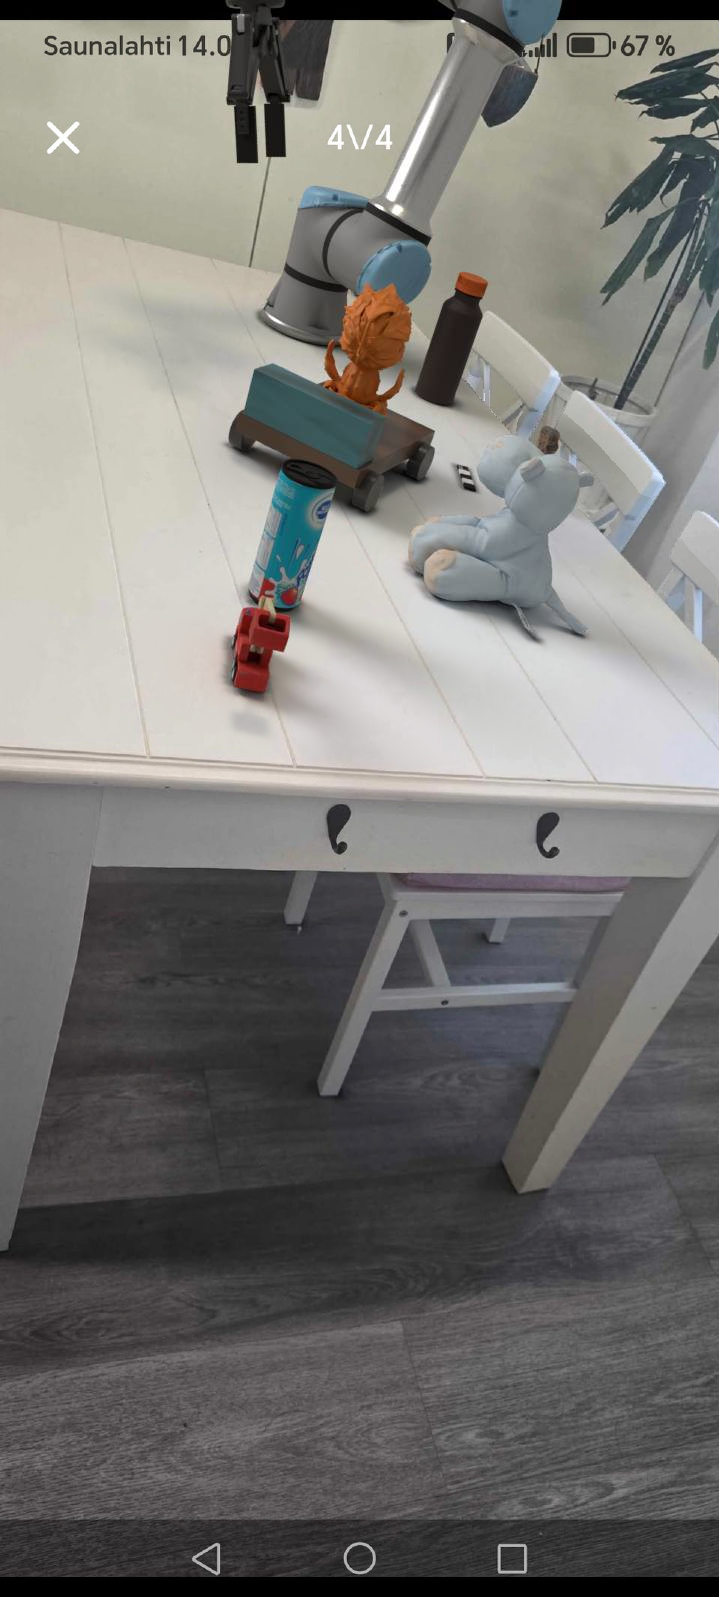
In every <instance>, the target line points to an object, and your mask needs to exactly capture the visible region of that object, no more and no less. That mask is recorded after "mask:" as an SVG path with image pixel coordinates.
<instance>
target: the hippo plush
mask: <svg viewBox="0 0 719 1597" xmlns="http://www.w3.org/2000/svg"><path fill="white" fill-rule="evenodd" d="M476 473H477V477H478V480H479V482H480V483H481V484H482V485H484V486H485V488H486V489H487V490H488V491H489V492H490V493H492V494H493V495H495V496H496V497H498V498H501V499H504V503H505V505H506V506H505V507H504V508H502V509H501V510H500V511H499V513H497V515H488V516H486V517H482V518H478V517H476V516H473V515H468V514H458V515H457V514H455V515H445V516H442V515H439V514H438V515H437V516H433V517H431V518H429V519H426V521H425V522H424V523H423V524H419V525H416V526H415V527H414V528H413V529H412V530H411V533H410V537H409V542H408V547H407V557H408V561H409V564H410V565H411V567H412V568H413V569H414V571H416V572H417V573H419V574H421V575H423V582H424V584H425V587H426V589H427V590H428V591H429V593H430V594H431V595H433V596H436V597H437V598H441V599H443V600H446V601H449V602H450V601H451V602H470V601H480V602H487V601H489V602H490V601H491V602H493V601H498V602H500V603H502V604H505V605H509V606H512V607H514V608H516V611H517V614H518V616H519V618H520V621H521V622H522V625H523V627H524V628H525V629H526V630H527V631H528V632H529V634H531V635H532V636H533V637H534V639H536V640H537V639H539V638H538V636H537V634H536V632H535V631H534V629H532V628H531V626H530V623H529V622H528V620H527V618H526V616H525V615H524V612H523V610H522V608H535V607H539V606H540V605H543V604H545V605H547V607H549V608H550V609H551V611H553V612H554V613H555V614H556V615H557V616H558V617H559V618H560V619H561V620H562V621H563V622H564V623H566V624H567V626H568V627H569V628H571V629H572V630H573V631H574V632H575V633H576V634H578V635H585V634H586V633H587V631H588V630H589V628H588V627H587V626H586V625H585V624H584V623H582V622H581V621H580V620H579V619H578V618H577V617H576V616H575V615H574V614H572V612H570V611H569V610H568V609H567V608H566V607H565V604H564V603H563V602H562V600H561V598H560V597H559V596H560V595H559V594H558V592H557V591H556V589H555V588H554V587H553V586H552V582H553V563H552V562H553V561H552V555H551V552H550V548H549V534H550V533H552V532H553V531H555V529H558V527H559V526H560V525H562V523H563V522H564V521H565V520H566V519H567V518H568V517H569V515H570V514H571V513H572V512H573V510H574V509H575V507H576V504H577V503H578V500H579V495H580V492H581V488H587V487H592V486H593V485H594V483H595V476H594V474H593V473H592V472H590V471H588V470H585V471H581V472H578V469H577V468H576V466H575V465H574V464H572V463H571V462H570V461H568V460H566V459H564V458H563V457H561V456H559V455H555V454H547V455H545V454H544V453H543V452H542V451H541V450H540V449H539V448H537V445H535V444H534V443H533V442H531V441H530V440H528V439H526V438H525V437H522V436H519V435H516V434H506V435H504V436H501V437H500V438H497V439H495V440H493V441H492V442H491V443H490V444H489V445H487V446H486V448H485V450H484V452H483V453H482V456H481V457H480V459H479V461H478V463H477V465H476Z"/></svg>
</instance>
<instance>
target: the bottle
mask: <svg viewBox="0 0 719 1597" xmlns="http://www.w3.org/2000/svg"><path fill="white" fill-rule="evenodd" d="M488 286H489V282H488V280H487V279H485V278H483V277H482V276H480V275H477V274H474V273H471V272H467V271H460V272H459V273H458V276H457V279H456V282H455V284H454V294H453V295H451V296H450V297H449V298H447V299H445V301H444V302H443V303H442V305H441V309H440V312H439V315H438V318H437V321H436V324H435V326H434V329H433V333H432V336H431V339H430V342H429V345H428V348H427V351H426V353H425V354H426V355H425V356H424V361H423V363H422V366H421V370H420V372H419V375H418V378H417V382H416V385H415V388H414V390H415V393H416V394H417V395H418V396H419V397H420V398H422V399H423V400H426V401H428V402H431V403H433V404H437V405H441V406H449V405H452V404H453V402H454V401H455V398H456V394H457V391H458V390H459V386H460V383H461V380H462V378H463V376H464V371H465V369H466V366H467V363H468V360H469V357H470V354H471V351H472V349H473V345H474V344H475V340H476V337H477V334H478V332H479V328H480V326H481V323H482V320H483V318H484V315H483V311H482V309H481V307H480V302H481V301H482V300H483V297H484V296H485V294H486V291H487V288H488Z"/></svg>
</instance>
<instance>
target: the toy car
mask: <svg viewBox="0 0 719 1597" xmlns="http://www.w3.org/2000/svg"><path fill="white" fill-rule="evenodd" d="M326 381H327V380H324V381H322V382H319V383H316V382H314V381H312V380H309V379H307V378H306V377H303V376H301V375H299V374H297V373H295V372H293V371H291V370H289V369H287V368H284V367H282V366H280V365H278V364H276V363H273V362H271V363H268V364H266V365H263V366H259V367H256V368H254V369H253V372H252V376H251V380H250V384H249V388H248V392H247V397H246V400H245V405H244V407H243V408H244V409H241V410H240V411H239V412H238V413H237V414H236V415H235V417H234V419H233V421H232V423H231V425H230V428H229V431H228V436H227V437H228V438H227V439H228V443H229V445H230V446H232V447H234V448H236V449H239V450H241V451H243V452H247V451H249V450H250V449H251V448H252V447H253V446H254V444H255V443H256V442H258V443H260V444H261V445H264V446H265V447H268V448H270V449H272V450H274V451H276V452H278V453H280V454H282V455H284V456H286V457H289V458H290V459H300V460H306V461H310V462H313V463H316V464H318V465H321V466H323V467H325V468H326V469H328V470H330V471H331V472H332V473H333V474H334V475H335V476H336V477H337V482H338V483H341V484H344V485H346V486H347V487H350V488H351V489H354V490H353V493H352V497H351V503H352V505H353V506H355V507H356V508H358V509H361V510H362V511H364V512H370V511H371V510H372V509H373V508H374V506H375V505H376V504H377V502H378V500H379V498H380V496H381V494H382V491H383V488H384V484H385V477H384V475H383V474H384V473H385V472H387V471H389V470H391V469H393V468H395V467H396V466H398V465H400V464H402V463H403V462H405V461H407V462H406V465H405V475H407V476H408V477H411V478H413V479H415V480H417V481H421V480H422V479H424V477H425V476H426V475H427V473H428V472H429V469H430V468H431V465H432V463H433V460H434V458H435V453H436V449H435V446H432V443H433V439H434V437H435V433H436V430H434V429H432V428H430V427H428V426H426V425H424V424H422V423H419V422H418V421H415V420H414V419H411V418H409V417H407V416H405V415H403V414H400V413H398V412H397V411H394V410H392V409H390V408H388V407H387V409H386V411H387V414H386V416H384V415H382V414H379V413H377V412H375V411H373V410H371V409H369V408H367V407H365V406H363V405H360V404H358V403H356V402H354V401H352V400H350V399H348V398H346V397H344V396H341V395H339V394H337V393H335V392H333V391H331V390H329V389H327V388H324V387H323V386H324V384H325V382H326Z"/></svg>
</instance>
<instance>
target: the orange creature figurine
mask: <svg viewBox="0 0 719 1597" xmlns="http://www.w3.org/2000/svg"><path fill="white" fill-rule="evenodd" d="M395 289H396V288H395V286H394V284H391V285H389V286H387V287H386V288H385V289H380V290H379V291H377V292H376V291H374V290H373V289H372V288H371V286H370V285H369V284H368V283H367V284H366V285H365V286H364V290H363V291H362V292H361V294H360V295H359V296H357V297H356V298H355V299H354V301H352V304H351V305H347V306H345V309H346V312H345V314H346V315H345V317H344V319H343V327H344V331H343V332H342V337H341V339H340V340H339V341H338V342H339V343H340V344H341V345H340V347H341V349H342V352H345V353H346V355H347V359H349V360H350V362H348V364H347V365H346V366H345V367H344V369H343V370H342V375H340V373H339V371H338V368H337V367H336V360H335V357H334V349H335V346H334V339H332V340H331V341H330V342H329V345H328V346H327V347H326V351H325V352H326V353H325V356H324V362H323V363H324V364H323V365H324V366H323V367H324V368H323V369H324V371H325V372H326V375H328V377H329V378H330V379H327V380H325V381H326V382H325V384H324V386H323V387H324V388H327V389H329V390H331V391H333V392H335V393H337V394H339V395H341V396H344V397H346V398H348V399H350V400H352V401H354V402H356V403H358V404H360V405H363V406H365V407H367V408H369V409H371V410H373V411H375V412H377V413H379V414H382V415H384V416H386V414H387V411H386V409H387V408H388V406H389V405H388V401H389V400H391V399H393V398H394V397H395V396H396V395H398V394H399V393H400V390H401V389H402V386H403V381H404V378H405V374H406V369H405V368H403V369H401V370H400V371H399V373H398V375H397V378H396V380H395V383H394V385H393V386H392V387H390V388H389V389H388V390H386V391H385V392H384V393H382V394H378V393H377V392H378V391H379V388H380V384H381V375H380V371H384V370H386V369H390V368H392V367H395V366H396V365H397V364H399V363H400V362H402V361H403V359H404V354H405V350H406V344H405V343H409V342H410V339H411V338H410V336H411V334H412V329H413V328H412V325H413V324H412V317H413V313H412V312H409V311H410V306H408V305H405V304H404V300H403V301H402V300H401V298H400V297H399V296H398V295H397V293H396V290H395Z"/></svg>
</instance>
